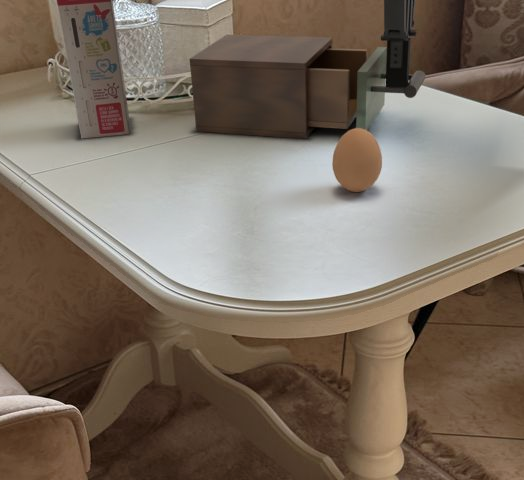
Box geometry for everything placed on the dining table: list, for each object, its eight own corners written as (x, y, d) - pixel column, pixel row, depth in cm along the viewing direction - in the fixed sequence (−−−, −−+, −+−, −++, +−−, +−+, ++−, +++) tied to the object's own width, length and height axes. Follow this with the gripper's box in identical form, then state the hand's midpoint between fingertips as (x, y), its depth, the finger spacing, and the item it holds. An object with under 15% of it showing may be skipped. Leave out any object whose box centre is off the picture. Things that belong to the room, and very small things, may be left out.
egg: (323, 193, 88) (322, 132, 84) (348, 177, 92) (349, 117, 88) (364, 203, 85) (366, 140, 81) (389, 187, 89) (392, 125, 85)
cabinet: (332, 107, 114) (332, 37, 108) (306, 138, 103) (305, 63, 98) (231, 101, 118) (226, 34, 113) (196, 131, 108) (189, 58, 102)
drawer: (426, 107, 109) (430, 48, 105) (410, 137, 99) (414, 73, 95) (285, 99, 115) (283, 43, 110) (258, 127, 105) (255, 67, 101)
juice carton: (129, 118, 114) (105, -51, 101) (130, 133, 108) (104, -44, 96) (82, 123, 113) (52, -48, 101) (81, 138, 108) (49, -40, 95)
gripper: (384, -122, 96) (378, 76, 109) (361, -113, 86) (357, 105, 99) (447, -125, 94) (433, 78, 107) (431, -116, 84) (417, 108, 97)
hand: (396, 91), depth 103 cm, fingers closed
